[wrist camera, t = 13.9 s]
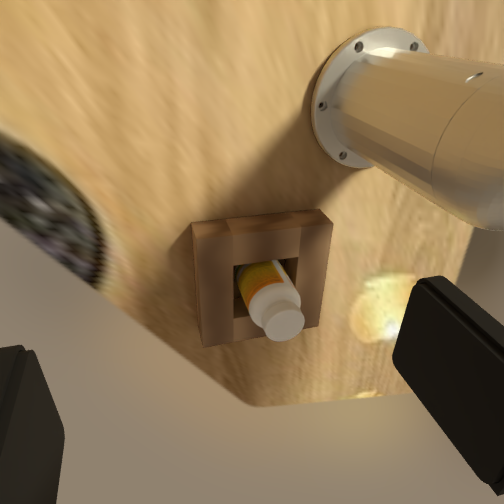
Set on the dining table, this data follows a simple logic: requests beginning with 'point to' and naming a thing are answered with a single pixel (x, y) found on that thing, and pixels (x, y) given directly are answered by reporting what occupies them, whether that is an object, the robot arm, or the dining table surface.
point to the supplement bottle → (270, 299)
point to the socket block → (252, 251)
